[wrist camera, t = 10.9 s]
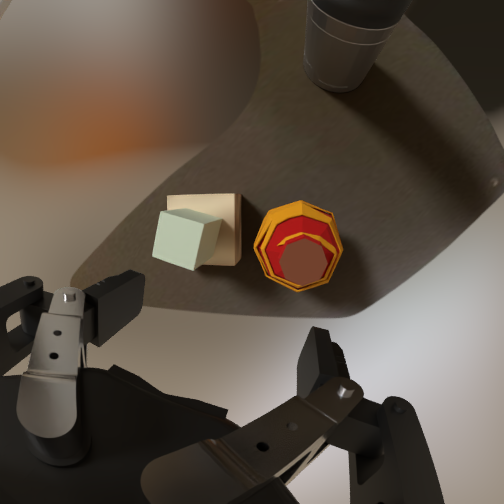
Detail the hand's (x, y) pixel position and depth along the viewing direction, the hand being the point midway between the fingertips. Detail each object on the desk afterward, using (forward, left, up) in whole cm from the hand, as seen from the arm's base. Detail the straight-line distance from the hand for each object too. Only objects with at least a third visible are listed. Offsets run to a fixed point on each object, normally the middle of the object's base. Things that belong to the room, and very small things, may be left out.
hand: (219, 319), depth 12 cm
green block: (+1, -8, -22) cm, 24 cm away
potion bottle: (-1, +4, -27) cm, 27 cm away
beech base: (+1, -8, -27) cm, 28 cm away
